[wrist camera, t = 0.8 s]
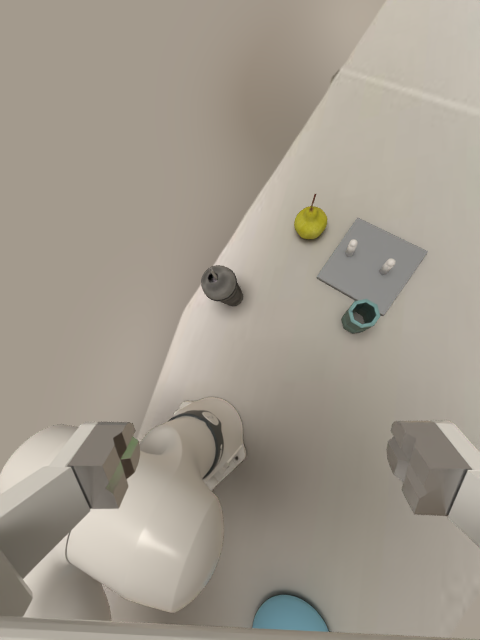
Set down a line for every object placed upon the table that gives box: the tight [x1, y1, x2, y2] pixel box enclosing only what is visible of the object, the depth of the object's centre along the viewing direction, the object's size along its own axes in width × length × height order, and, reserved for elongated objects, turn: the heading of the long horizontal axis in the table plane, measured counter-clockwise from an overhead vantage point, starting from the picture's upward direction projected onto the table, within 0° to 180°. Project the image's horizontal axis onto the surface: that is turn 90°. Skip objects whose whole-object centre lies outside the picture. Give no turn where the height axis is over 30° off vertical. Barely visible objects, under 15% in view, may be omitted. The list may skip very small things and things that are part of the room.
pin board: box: [317, 218, 428, 316], centre depth 56 cm, size 16×16×7 cm
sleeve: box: [341, 299, 380, 334], centre depth 53 cm, size 5×5×10 cm
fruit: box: [294, 194, 327, 239], centre depth 58 cm, size 7×7×12 cm
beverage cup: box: [201, 265, 243, 306], centre depth 56 cm, size 7×7×20 cm
